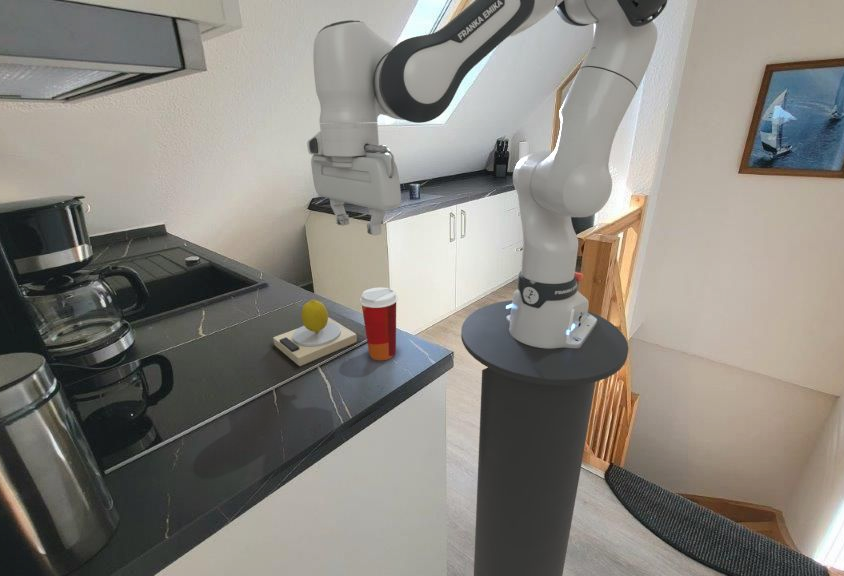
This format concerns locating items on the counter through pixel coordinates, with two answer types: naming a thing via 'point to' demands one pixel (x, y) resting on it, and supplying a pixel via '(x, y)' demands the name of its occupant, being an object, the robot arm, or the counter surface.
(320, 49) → the robot arm
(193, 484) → the counter surface
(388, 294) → the paper cup
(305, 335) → the scale
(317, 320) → the lemon
